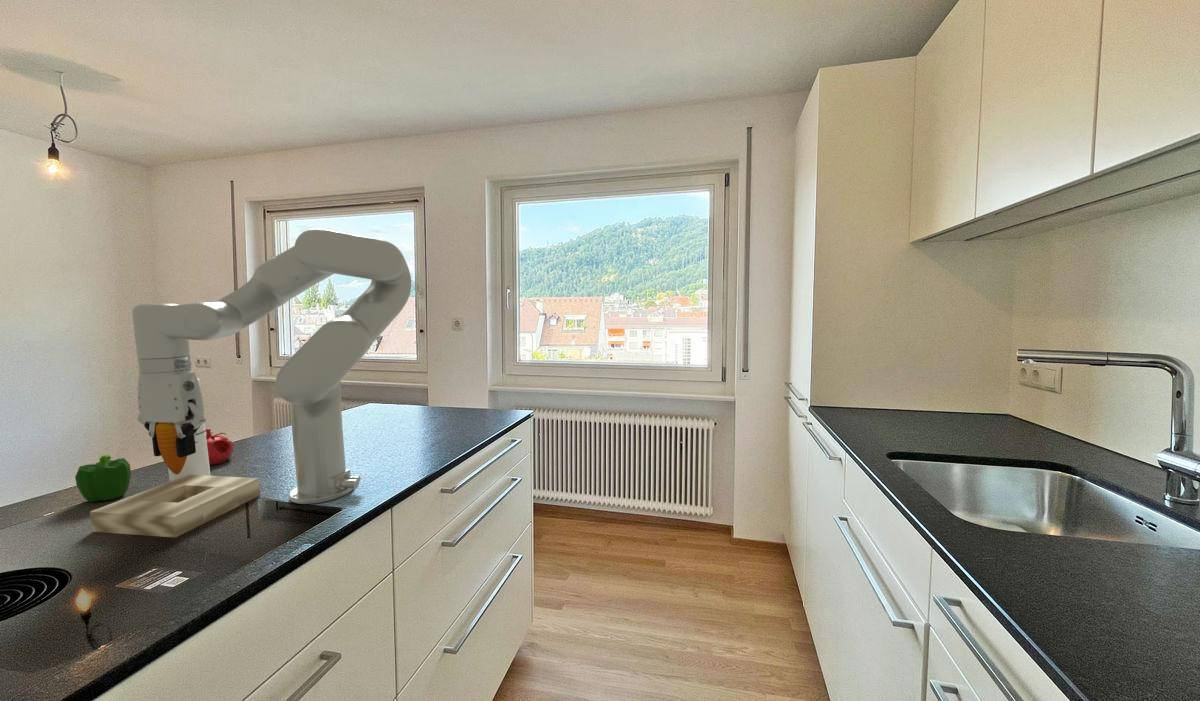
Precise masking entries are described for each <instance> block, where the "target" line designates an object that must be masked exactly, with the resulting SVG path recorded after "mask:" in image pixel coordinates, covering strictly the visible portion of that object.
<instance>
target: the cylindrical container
mask: <svg viewBox="0 0 1200 701" xmlns="http://www.w3.org/2000/svg"><path fill="white" fill-rule="evenodd" d="M197 379H198V382H199V386H200V390H201V391H202V389H201V381H200V380H201V379H200V378H198V377H197ZM205 430H206V425H205V423H203V424H202V425H201V426H200V427H199V429H198V430H197V433H196V434H194V437H195V447H196V452H195V453H194V454H191V455H188V456H187V459H186V462H185V464H184V466H183V468H182V470H181V472H180V473H179V474H178V475H176V474H174V473H173V472H172V471H171V470H170V469H169V468H168V467H167V471H168V480H169V481H172V480H175V479H177V478H180V477H183V476H185V475H206V476H211V469H210V465H209V458H208V449H207V441H206V431H205ZM169 481H168V482H169Z"/></svg>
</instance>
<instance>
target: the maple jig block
mask: <svg viewBox="0 0 1200 701" xmlns="http://www.w3.org/2000/svg"><path fill="white" fill-rule="evenodd" d="M260 496H261V490H260V479H259V478H258V477H245V476H243V477H242V476H241V477H240V476H225V475H210V476H206V475H185V476H183V477H180V478H177V479H175V480H172V481H166V482H165V483H162V484H159V485H156V486H154V487H151V488H149V489H146V490H143V491H141V492H138V493H135V494H133V495H130V496H127V497H125V498H123V499H120V500H117V501H115V502H112V503H108V504H107V505H104V506H101V507H99V508H96V509H93V510H90V511H89V513H90V520H91V527H92V532H93V533H102V534H103V533H104V534H106V533H107V534H118V535H122V534H123V535H135V536H148V537H161V538H179V537H180V536H182V535H184V534H186V533H188V532H191V531H192V530H194V529H196V528H197V527H200V526H203V525H205V524H206V523H208V522H210V521H212V520H214V519H216V518H218V517H220V516H222V515H224V514H226V513H228V512H230V511H232V510H234V509H235V508H237V507H239V506H242V505H244V504H246V503H248V502H250V501H251V500H254V499H255V498H258V497H260Z"/></svg>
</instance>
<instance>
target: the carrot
mask: <svg viewBox="0 0 1200 701" xmlns="http://www.w3.org/2000/svg"><path fill="white" fill-rule="evenodd" d="M185 421H186V420H185ZM182 425H183V428H184V429H185V427H186V426H187V424H182ZM156 435H157V441H158V446H159V450H160V453H161V458H162V460H163V462H164V464H165V465H166V467H167V469H168V468H169V469H170V470H171V471H172V472H173V473H174V474H176V475H178V474H179V473H180V472H181V470H182V468H183V466H184V464H185V462H186V459H187V456H185V457H182V458H179V457H178V456H177V448H176V438H179V437H178V434H177V431H176V428H175V425H174V423H159V424H158V425H157V426H156Z"/></svg>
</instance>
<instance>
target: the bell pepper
mask: <svg viewBox="0 0 1200 701" xmlns="http://www.w3.org/2000/svg"><path fill="white" fill-rule="evenodd" d="M111 458H112V456H110V455H108V454H104V455H101V456H100V457H99V461H97V462H96V463H94V464H93V463H90V464H84V465H80V466H79V467H78V469H77V472H76V474H75V476H74V477H75V482H76V487H77V488H78V490H79V493H80V494H81V495H82V497H83V498H84V500H86V501H88V502H90V503H94V502H100V501H111V500H115V499H118V498H121V497H123V496H124V495H125V494H126V492H127V490H128V489H129V487H130V482H131V478H132V477H131V476H132V472H131V464H130V463H129V462H128V461H127V459H126V458H124V457H122V458H117V459H114V460H113V459H112V460H111Z"/></svg>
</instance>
